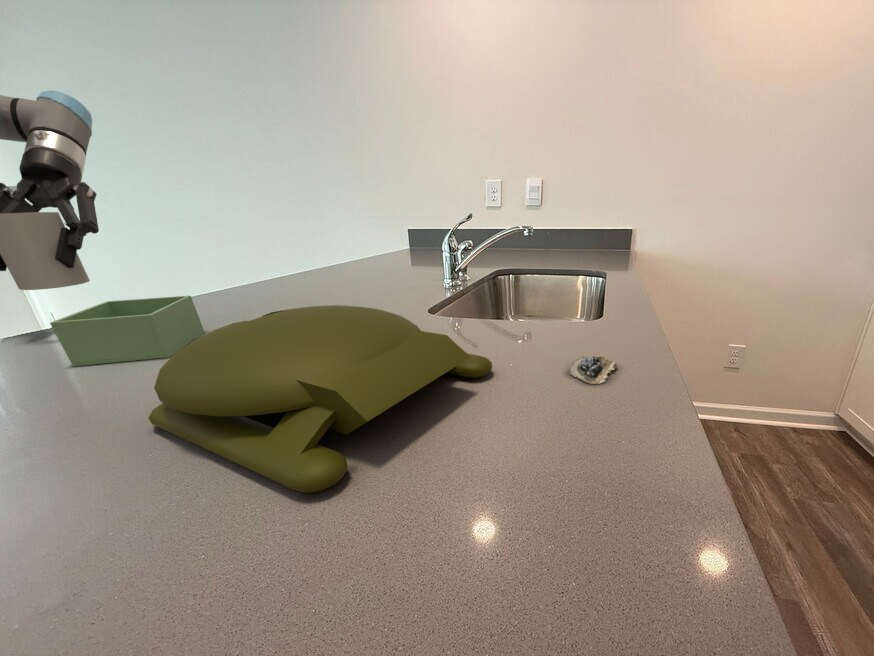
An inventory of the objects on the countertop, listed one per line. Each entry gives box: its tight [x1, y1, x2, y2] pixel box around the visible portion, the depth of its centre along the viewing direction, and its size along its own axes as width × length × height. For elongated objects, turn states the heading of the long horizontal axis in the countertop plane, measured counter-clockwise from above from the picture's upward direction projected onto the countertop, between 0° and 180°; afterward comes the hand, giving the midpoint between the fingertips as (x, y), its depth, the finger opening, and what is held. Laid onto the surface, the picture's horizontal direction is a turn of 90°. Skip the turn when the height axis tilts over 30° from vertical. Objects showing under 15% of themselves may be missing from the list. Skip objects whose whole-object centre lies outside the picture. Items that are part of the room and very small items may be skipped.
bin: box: [49, 295, 205, 367], centre depth 69 cm, size 13×13×7 cm
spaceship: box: [148, 304, 493, 494], centre depth 51 cm, size 35×31×10 cm
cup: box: [0, 211, 91, 291], centre depth 72 cm, size 9×9×12 cm
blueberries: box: [569, 355, 618, 385], centre depth 56 cm, size 7×8×2 cm
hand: (30, 264), depth 70 cm, fingers closed on cup, 9 cm apart
